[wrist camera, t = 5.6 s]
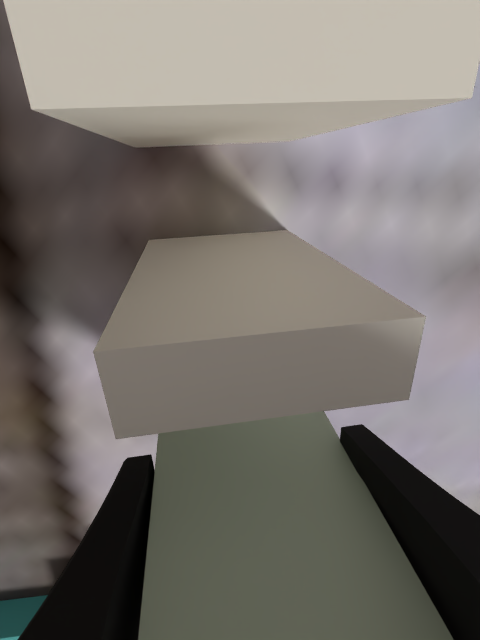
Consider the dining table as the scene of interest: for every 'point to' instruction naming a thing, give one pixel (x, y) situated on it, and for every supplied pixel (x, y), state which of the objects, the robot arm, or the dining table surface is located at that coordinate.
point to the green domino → (273, 541)
